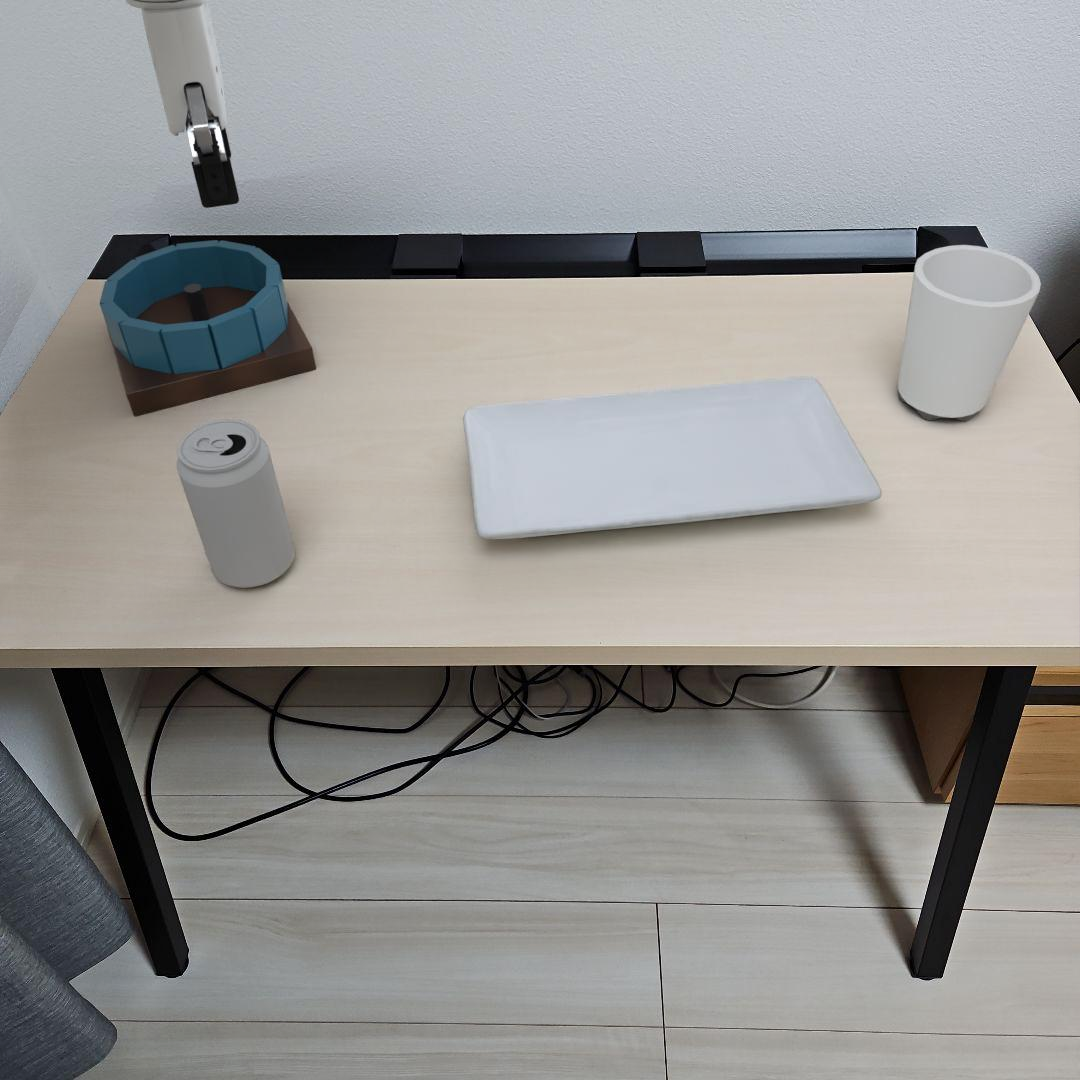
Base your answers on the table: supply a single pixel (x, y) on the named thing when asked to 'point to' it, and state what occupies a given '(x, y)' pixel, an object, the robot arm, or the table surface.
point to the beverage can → (235, 502)
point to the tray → (660, 458)
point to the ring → (201, 339)
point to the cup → (962, 327)
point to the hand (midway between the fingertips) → (217, 181)
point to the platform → (174, 389)
